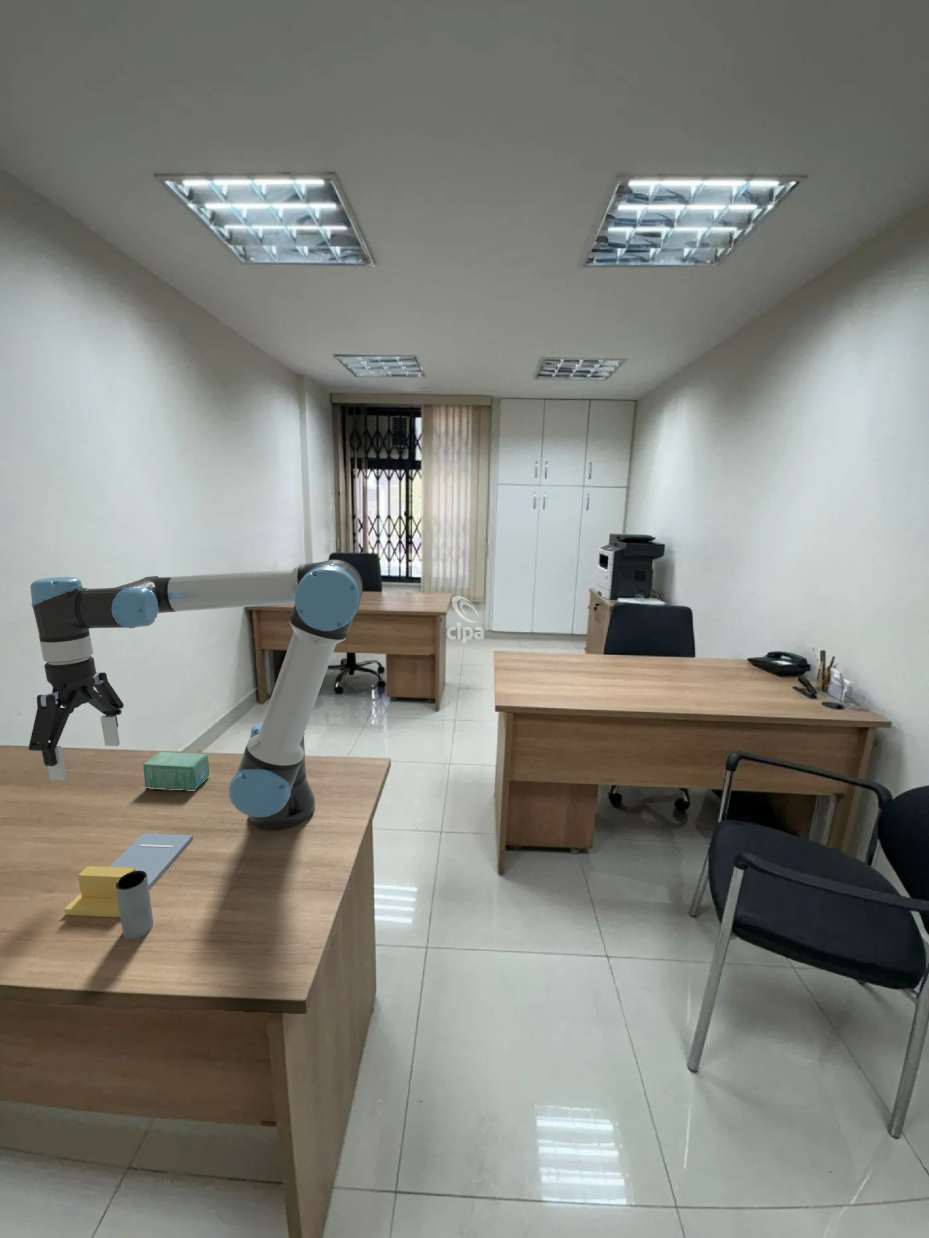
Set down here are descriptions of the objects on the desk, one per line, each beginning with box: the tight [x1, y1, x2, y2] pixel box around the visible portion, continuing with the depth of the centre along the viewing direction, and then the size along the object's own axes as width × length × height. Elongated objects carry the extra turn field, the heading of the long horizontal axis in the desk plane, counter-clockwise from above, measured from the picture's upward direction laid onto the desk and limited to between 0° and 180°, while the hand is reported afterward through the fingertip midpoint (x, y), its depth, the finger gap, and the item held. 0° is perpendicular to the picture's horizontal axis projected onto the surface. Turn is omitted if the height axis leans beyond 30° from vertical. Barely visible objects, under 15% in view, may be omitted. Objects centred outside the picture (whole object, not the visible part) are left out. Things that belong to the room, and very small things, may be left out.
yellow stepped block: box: [63, 865, 135, 918], centre depth 93 cm, size 11×6×6 cm, turn 88°
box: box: [142, 751, 210, 791], centre depth 133 cm, size 7×14×8 cm, turn 88°
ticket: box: [109, 833, 194, 890], centre depth 104 cm, size 11×16×1 cm
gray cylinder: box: [116, 871, 154, 941], centre depth 87 cm, size 4×4×10 cm
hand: (87, 761), depth 101 cm, fingers open, 13 cm apart
